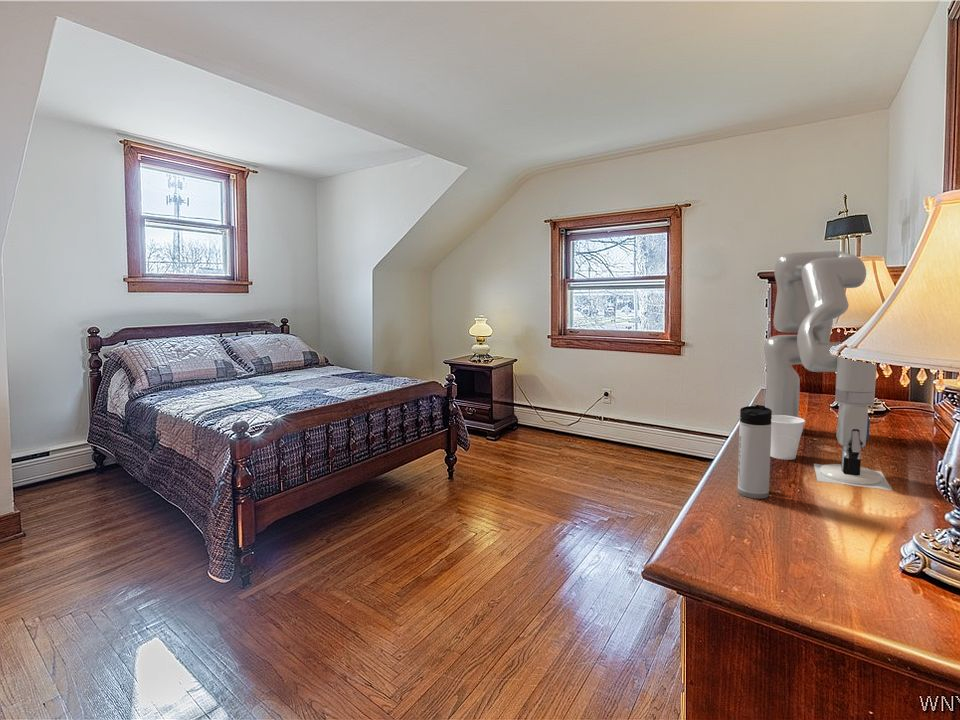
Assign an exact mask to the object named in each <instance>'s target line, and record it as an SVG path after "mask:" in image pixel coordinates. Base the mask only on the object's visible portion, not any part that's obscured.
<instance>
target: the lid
mask: <svg viewBox="0 0 960 720" xmlns="http://www.w3.org/2000/svg"><path fill="white" fill-rule="evenodd" d="M844 457H846V450H843V449H842V452H841V460H842V467H841V463H828V464H822V465H823V466H821V467H820V473H821V474H822V475H823V476H825V477H827V478H830V479H833V480H836V481H840V482H845V483H850V484H859V485H874V484H879V483H881V482H882V476H881V474H879V473H878V472H875V471H876V470H874V471H873V469H869V468H867V467H863V466H860V475H850V474H844V473H843V465H844Z"/></svg>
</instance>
